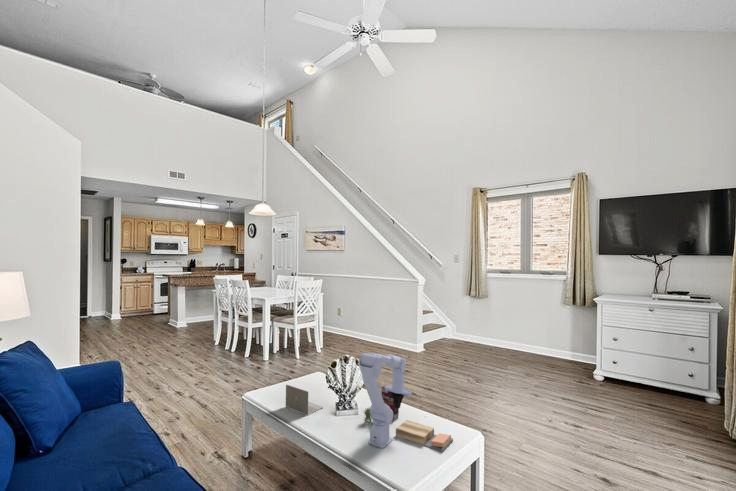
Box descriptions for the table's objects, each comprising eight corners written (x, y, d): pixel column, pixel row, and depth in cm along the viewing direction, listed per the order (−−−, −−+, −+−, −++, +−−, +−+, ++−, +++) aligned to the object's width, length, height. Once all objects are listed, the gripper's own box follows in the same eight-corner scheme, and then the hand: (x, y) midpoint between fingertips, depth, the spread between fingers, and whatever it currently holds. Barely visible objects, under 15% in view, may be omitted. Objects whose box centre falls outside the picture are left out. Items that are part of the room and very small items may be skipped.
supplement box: (380, 416, 200) (381, 386, 200) (386, 413, 203) (386, 384, 204) (393, 421, 194) (394, 390, 194) (399, 418, 198) (399, 388, 198)
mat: (442, 452, 164) (442, 449, 164) (424, 445, 170) (424, 443, 170) (452, 441, 174) (453, 438, 174) (434, 435, 179) (435, 432, 179)
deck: (423, 445, 170) (423, 437, 170) (395, 435, 179) (395, 428, 179) (433, 435, 179) (434, 428, 179) (406, 427, 188) (406, 420, 188)
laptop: (323, 408, 210) (323, 385, 210) (307, 416, 200) (308, 391, 200) (301, 400, 221) (301, 378, 221) (285, 407, 210) (285, 384, 211)
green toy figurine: (366, 415, 201) (366, 401, 201) (384, 421, 193) (384, 407, 193) (351, 423, 191) (352, 408, 192) (369, 430, 184) (369, 415, 184)
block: (431, 441, 169) (431, 445, 169) (443, 443, 166) (443, 447, 166) (439, 433, 177) (439, 437, 176) (450, 435, 173) (451, 439, 173)
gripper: (414, 381, 185) (414, 408, 185) (389, 375, 194) (389, 401, 193) (407, 385, 180) (407, 413, 179) (382, 379, 188) (382, 406, 188)
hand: (397, 407), depth 186 cm, fingers closed
